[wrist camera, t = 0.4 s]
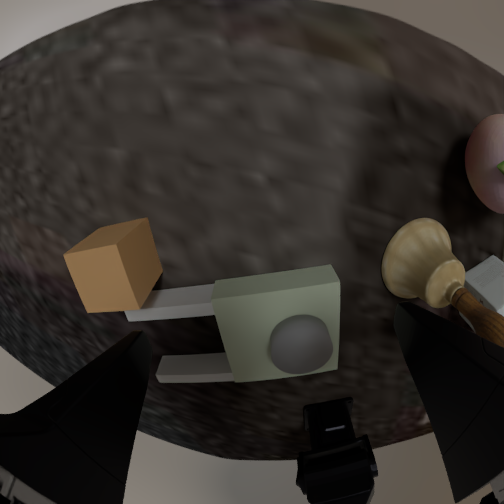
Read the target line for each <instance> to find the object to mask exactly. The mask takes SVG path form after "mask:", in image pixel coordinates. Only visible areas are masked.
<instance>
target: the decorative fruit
mask: <svg viewBox="0 0 504 504" xmlns="http://www.w3.org/2000/svg"><path fill="white" fill-rule="evenodd" d="M465 168H466V173H467V177H468V180H469V182H470V185H471V187H472V189H473V190H474V192H475V194H476V195H477V197H478V198H479V199H480V200H481V201H482V202H483V203H484V204H485V205H486V206H487V207H488V208H489V209H491V210H493V211H495V212H497V213H502V214H504V114H494V115H491V116H488V117H486V118H485V119H483V120H482V121H481V122H480V123H479V124H478V125H477V126H476V128H475V129H474V131H473V132H472V134H471V136H470V138H469V140H468V143H467V146H466V150H465Z"/></svg>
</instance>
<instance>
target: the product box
mask: <svg viewBox="0 0 504 504" xmlns="http://www.w3.org/2000/svg"><path fill="white" fill-rule="evenodd" d="M463 287H464V288H466V289H468V291H469V292H470V293H471V294H472V295H473V296H474V297H475V298H476V299H477V300H478V301H479V302H480V303H481V304H482V305H483V306H484V307H486V308H488V309H490V310H493V311H495V312H497V313H499V314H501V315H502V316H504V263H503V262H502V261H501V260H499V259H498V258H497V257H495V256H494V255H492V256H490V257H489V258H487V259H486V260H484V261H483V262H481V263H480V264H478V265H477V266H475V267H474V268H472V269H470V270H469V271H467V272H465V282H464V286H463ZM459 314H460V315H461V317H462V318H463V319H464V320H465V321H466V322H467V323H468V324H469V325H470V327H471V328H472V329H473V330H474V328H473V326H472V324H471V323H470V321H469V320H468V319H467V318H466V317H465V316H464V315H463V314H462V313H461V312H460V311H459ZM474 331H475V330H474Z"/></svg>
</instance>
